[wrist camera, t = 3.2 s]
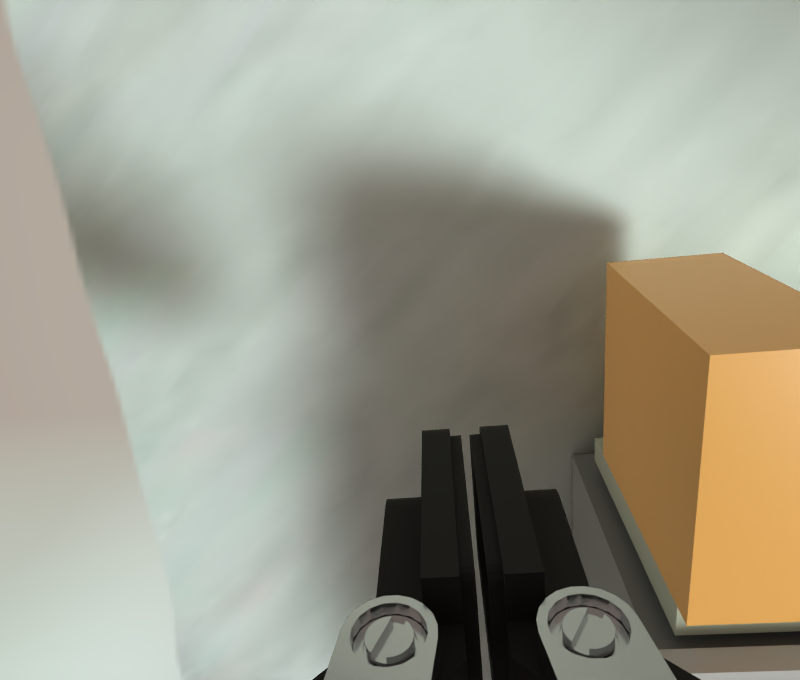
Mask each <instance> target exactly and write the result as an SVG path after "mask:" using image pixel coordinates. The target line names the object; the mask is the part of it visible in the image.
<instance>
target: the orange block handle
mask: <svg viewBox="0 0 800 680" xmlns="http://www.w3.org/2000/svg"><path fill="white" fill-rule="evenodd" d="M595 462H596V464H597V466H598V468H599V471H600V473H601V475H602V477H603V479H604V481H605V484H606V486H607V488H608V490H609V492H610V495H611V497H612V499H613V501H614V503H615V505H616V508H617V510H618V512H619V514H620V516H621V519H622V521H623V523H624V525H625V527H626V529H627V532H628V534H629V536H630V538H631V540H632V543H633V545H634V547H635V549H636V551H637V553H638V556H639V558H640V560H641V562H642V564H643V567H644V569H645V571H646V573H647V575H648V577H649V580H650V582H651V584H652V586H653V588H654V591H655V593H656V595H657V597H658V599H659V601H660V604H661V606H662V608H663V610H664V612H665V615H666V617H667V619H668V621H669V623H670V625H671V628H672V630H673V632H674V634H675V636H678V635H706V634H734V633H763V632H791V631H800V292H799V291H797V290H795V289H793V288H791V287H789V286H787V285H785V284H783V283H781V282H779V281H777V280H775V279H773V278H771V277H769V276H767V275H765V274H763V273H761V272H759V271H758V270H756V269H754V268H752V267H750V266H748V265H746V264H744V263H742V262H740V261H738V260H736V259H734V258H732V257H730V256H728V255H726V254H724V253H715V254H703V255H691V256H680V257H668V258H656V259H645V260H633V261H621V262H609V263H607V285H606V335H605V384H604V434H603V438H595Z"/></svg>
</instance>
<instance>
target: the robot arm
mask: <svg viewBox="0 0 800 680" xmlns="http://www.w3.org/2000/svg"><path fill="white" fill-rule="evenodd" d="M470 451H471V466H472V480H473V495H474V509H475V524H476V538H477V551H478V562H479V571H480V580H481V589H482V598H483V606H484V615H485V624H486V633H487V642H488V651H489V660H490V668H491V677H492V680H701V679H699V678H697V677H696V676H694V675H692V674H690V673H689V672H687V671H685V670H684V669H682V668H680V667H679V666H677V665H675V664H673V663H672V662H670V661H668V660H667V659H665V658H663V656H662V655H661V653H660V651H659V650H658V648H657V647H656V645H655V643H654V642H653V640H652V638H651V637H650V635H649V633H648V632H647V630H646V628H645V627H644V625H643V624H642V622H641V620H640V619H639V617H638V615H637V614H636V613H635V612H634V611H633V609H632V608H631V607H630V606H629V605H628V604H627V603H626V602H624V601H623V600H621V599H620V598H619V597H617V596H616V595H614V594H611V593H609V592H606V591H604V590H602V589H598V588H592V587H590V586H589V583H588V580H587V577H586V575H585V572H584V569H583V566H582V563H581V560H580V557H579V554H578V551H577V548H576V545H575V542H574V539H573V536H572V533H571V530H570V527H569V524H568V521H567V518H566V515H565V512H564V509H563V506H562V503H561V500H560V497H559V494H558V492H557V490H556V489H548V490H532V491H524V488H523V484H522V480H521V476H520V472H519V468H518V464H517V460H516V456H515V452H514V448H513V444H512V440H511V436H510V432H509V428H508V425H499V426H484V427H480V434H475V435H470ZM313 680H483V677H482V663H481V649H480V635H479V621H478V607H477V594H476V581H475V570H474V559H473V549H472V540H471V530H470V520H469V511H468V501H467V491H466V481H465V472H464V462H463V452H462V443H461V435H460V436H450V431H449V429H441V430H426V431H422V484H421V497H416V498H400V499H387V501H386V507H385V517H384V527H383V537H382V547H381V557H380V567H379V577H378V587H377V597H376V598H375V599H372V600H369V601H367V602H366V603H364V604H362V605H360V606H359V607H357V608H356V609H355V610H354V611H353V612H352V613H351V614H350V615H349V616H348V617H347V619H346V621H345V622H344V624H343V626H342V628H341V630H340V633H339V636H338V639H337V642H336V645H335V648H334V651H333V654H332V657H331V660H330V663H329V666H328V668H327V669H325V670H324V671H323V672H322V673H320V674H319V675H318V676H317V677H315V678H314V679H313Z"/></svg>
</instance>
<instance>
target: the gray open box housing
mask: <svg viewBox="0 0 800 680" xmlns="http://www.w3.org/2000/svg"><path fill="white" fill-rule="evenodd" d="M572 536H573V539H574V542H575V545H576V548H577V551H578V554H579V557H580V560H581V563H582V566H583V569H584V572H585V575H586V577H587V580H588V583H589V586H590V587H592V588H598V589H602V590H604V591H606V592H609V593H611V594H614V595H616V596H617V597H619V598H620V599H621V600H623V601H624V602H626V603H627V604H628V605H629V606H630V607H631V608H632V609H633V611H634V612H635V613H636V614H637V615H638V617H639V619H640V620H641V622H642V624H643V625H644V627H645V628H646V630H647V632H648V633H649V635H650V637H651V638H652V640H653V642H654V643H655V645H656V647H657V648H658V650H659V651H660V653H661V655H662V656H663V658H665V659H667V660H668V661H670V662H672V663H673V664H675V665H677V666H679V667H680V668H682V669H684V670H685V671H687V672H689V673H690V674H692V675H694V676H696V677H697V678H699V679H701V680H800V631H791V632H763V633H734V634H706V635H678V636H675V634H674V632H673V630H672V628H671V625H670V623H669V621H668V619H667V617H666V615H665V612H664V610H663V608H662V606H661V604H660V601H659V599H658V597H657V595H656V593H655V591H654V588H653V586H652V584H651V582H650V580H649V577H648V575H647V573H646V571H645V569H644V567H643V564H642V562H641V560H640V558H639V556H638V553H637V551H636V549H635V547H634V545H633V543H632V540H631V538H630V536H629V534H628V532H627V529H626V527H625V525H624V523H623V521H622V519H621V516H620V514H619V512H618V510H617V508H616V505H615V503H614V501H613V499H612V497H611V495H610V492H609V490H608V488H607V486H606V484H605V481H604V479H603V477H602V475H601V473H600V471H599V468H598V466H597V464H596V462H595V453H593V454H576V455H572Z"/></svg>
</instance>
